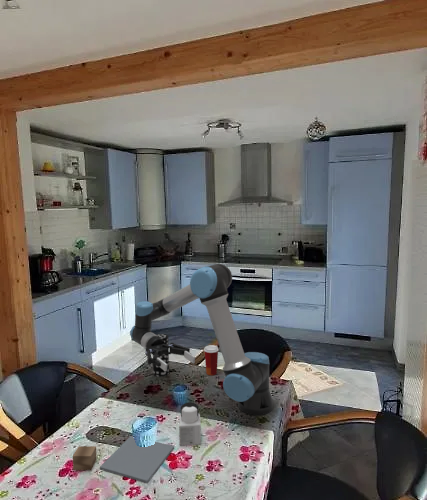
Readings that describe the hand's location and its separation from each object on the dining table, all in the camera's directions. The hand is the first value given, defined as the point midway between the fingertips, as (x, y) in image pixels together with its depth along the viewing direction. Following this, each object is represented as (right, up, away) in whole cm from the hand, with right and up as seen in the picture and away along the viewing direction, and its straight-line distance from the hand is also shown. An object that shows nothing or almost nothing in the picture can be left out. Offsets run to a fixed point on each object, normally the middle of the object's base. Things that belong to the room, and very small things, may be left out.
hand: (180, 364), depth 143 cm
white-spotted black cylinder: (-15, -20, +47) cm, 53 cm away
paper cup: (+12, -20, +46) cm, 52 cm away
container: (+4, -25, -9) cm, 27 cm away
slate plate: (-13, -26, -20) cm, 35 cm away
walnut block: (-30, -27, -23) cm, 46 cm away
